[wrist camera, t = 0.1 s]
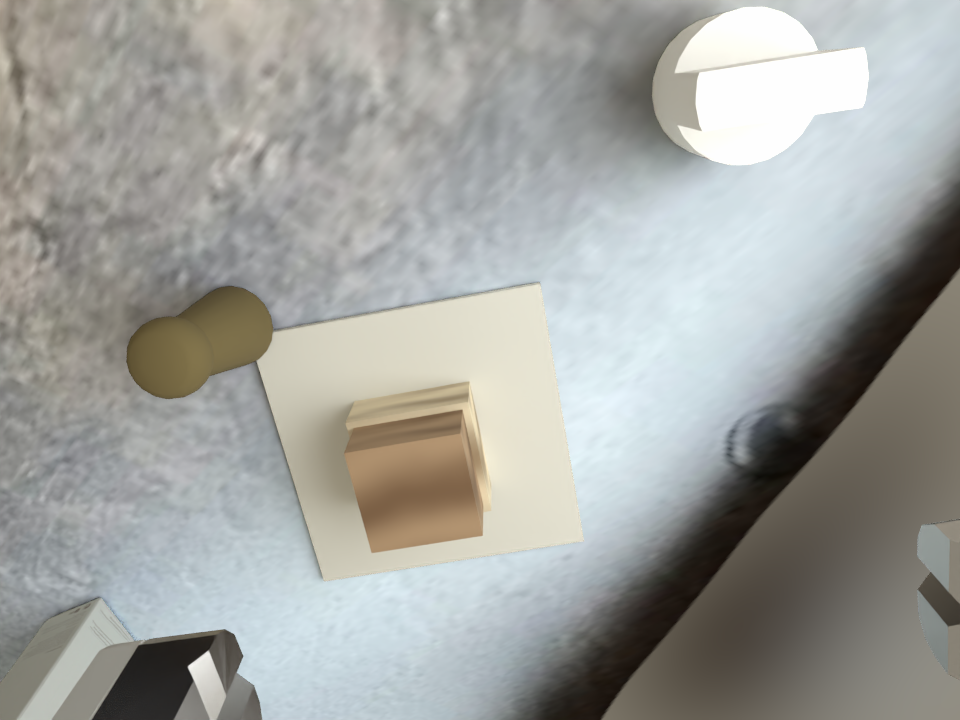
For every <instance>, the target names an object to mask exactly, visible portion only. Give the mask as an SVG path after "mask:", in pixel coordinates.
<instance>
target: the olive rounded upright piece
mask: <svg viewBox="0 0 960 720" xmlns="http://www.w3.org/2000/svg"><path fill="white" fill-rule="evenodd" d="M272 334H273V325H272V320H271V316H270V314H269V312H268V310H267V308H266V306H265V305H264V303H263V302H262V301H261V300H260V299H259V298H258V297H257V296H256V295H254V294H253V293H251V292H249V291H247V290H245V289H243V288H238V287H233V286H229V287H221V288H218V289H216V290H214V291H212V292H210V293H208V294H207V295H206V296H204V297H203V298H202V299H200V300H199V301H197V302H196V303H195V304H193V305H192V306H191V307H189V308H188V309H186V310H185V311H184V312H182V313H181V314H180V315H178V316H177V317H162V318H156V319H153V320H151V321H149V322H147V323H145V324H143V325H142V326H141V327H140V328H139V329H138V330H137V331H136V332H135V333H134V335H133V336H132V337H131V339H130V342H129V344H128V347H127V365H128V369H129V372H130V374H131V376H132V377H133V379H134V381H135V382H136V383H137V384H138V385H139V386H140V387H141V388H142V389H143V390H145V391H147V392H148V393H150V394H152V395H154V396H156V397H160V398H165V399H172V398H181V397H185V396H187V395H189V394H191V393H193V392H195V391H197V390H198V389H199V388H200V387H201V386H202V385H203V384H204V383H205V382H206V381H207V379H208V378H209V376H211V375H215V374H218V373H221V372H224V371H228V370H231V369H234V368H238V367H241V366H244V365H247V364H250V363H252V362H254V361H256V360H258V359H260V358H261V357H262V356H263V355H264V354H265V353H266V351H267V350H268V348H269V346H270V343H271V341H272Z"/></svg>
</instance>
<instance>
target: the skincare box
mask: <svg viewBox="0 0 960 720" xmlns="http://www.w3.org/2000/svg"><path fill="white" fill-rule="evenodd" d="M133 641H134V639H133V638H132V637H131V635H130V634H129V633H128V632H127V630H126V629H125V628H124V627H123V625H122V624H121V623H120V621H119V620H118V619H117V618H116V616H115V615H114V614H113V613H112V611H111V610H110V609H109V607H108V606H107V605H106V604H105V602H104V601H103V599H102V598H98V599H95V600H93V601H90V602H88V603H86V604H83V605H81V606H78V607H76V608H74V609H71V610H68V611H66V612H63V613H61V614H58V615H56V616H53V617H51V618H50V619H48V620H47V621H46V622H45V623H44V624H43V626H42V627H41V628H40V630H39V631H38V632H37V634H36V635H35V636H34V638H33V639H32V640H31V642H30V643H29V644H28V646H27V647H26V649H25V650H24V651H23V653H22V654H21V655H20V657H19V658H18V660H17V661H16V662H15V664H14V665H13V666H12V668H11V669H10V671H9V672H8V673H7V675H6V676H5V677H4V679H3V680H2V681H1V683H0V720H51V719H52V718H53V716H54V715H55V714H56V712H57V711H58V709H59V708H60V706H61V705H62V704H63V702H64V701H65V699H66V698H67V696H68V695H69V693H70V692H71V691H72V689H73V688H74V686H75V685H76V683H77V682H78V681H79V679H80V678H81V676H82V675H83V673H84V672H85V670H86V669H87V668H88V666H89V665H90V663H91V662H92V660H93V659H94V658H95V656H96V655H97V653H98V652H99V650H101V649H103V648H105V647H107V646H110V645H113V644H119V643H126V642H133Z"/></svg>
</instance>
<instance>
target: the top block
mask: <svg viewBox="0 0 960 720" xmlns="http://www.w3.org/2000/svg"><path fill="white" fill-rule="evenodd" d="M344 455H345V459H346V463H347V466H348V470H349V473H350V477H351V481H352V484H353V488H354V491H355V495H356V499H357V502H358V506H359V509H360V513H361V517H362V520H363V524H364V527H365V531H366V535H367V538H368V542H369V545H370V549H371V552H372V553H377V552H383V551H389V550H396V549H402V548H408V547H415V546H421V545H428V544H434V543H440V542H447V541H453V540H459V539H466V538H472V537H478V536H483V502H482V497H481V492H480V488H479V483H478V478H477V474H476V469H475V465H474V460H473V455H472V451H471V446H470V442H469V437H468V432H467V428H466V423H465V418H464V414H463V409H462V410H457V411H451V412H445V413H439V414H433V415H427V416H421V417H416V418H410V419H404V420H398V421H392V422H386V423H380V424H374V425H369V426H363V427H357V428H354V429H353V431H352V434H351V436H350V439H349V441H348V444H347V446H346V449H345V452H344Z"/></svg>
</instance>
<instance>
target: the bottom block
mask: <svg viewBox="0 0 960 720" xmlns="http://www.w3.org/2000/svg"><path fill="white" fill-rule="evenodd" d="M462 409H463V414H464V418H465V423H466V428H467V432H468V437H469V442H470V446H471V451H472V455H473V460H474V465H475V469H476V474H477V478H478V483H479V488H480V492H481V497H482V502H483V512H487V511H491V481H490V476H489V471H488V466H487V462H486V457H485V452H484V447H483V443H482V438H481V433H480V428H479V424H478V419H477V414H476V409H475V405H474V400H473V395H472V390H471V386H470V381H469V382H463V383H457V384H451V385H445V386H440V387H434V388H428V389H422V390H417V391H411V392H405V393H399V394H394V395H388V396H382V397H376V398H370V399H365V400H359V401H354V404H353V406H352V409H351V411H350V413H349V416H348V418H347V420H346V427H347V431H348V434H349V438H350V436H351V434H352V431H353V429H354V428H357V427H363V426H369V425H374V424H380V423H386V422H392V421H398V420H404V419H410V418H416V417H421V416H427V415H433V414H439V413H445V412H451V411H457V410H462Z"/></svg>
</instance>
